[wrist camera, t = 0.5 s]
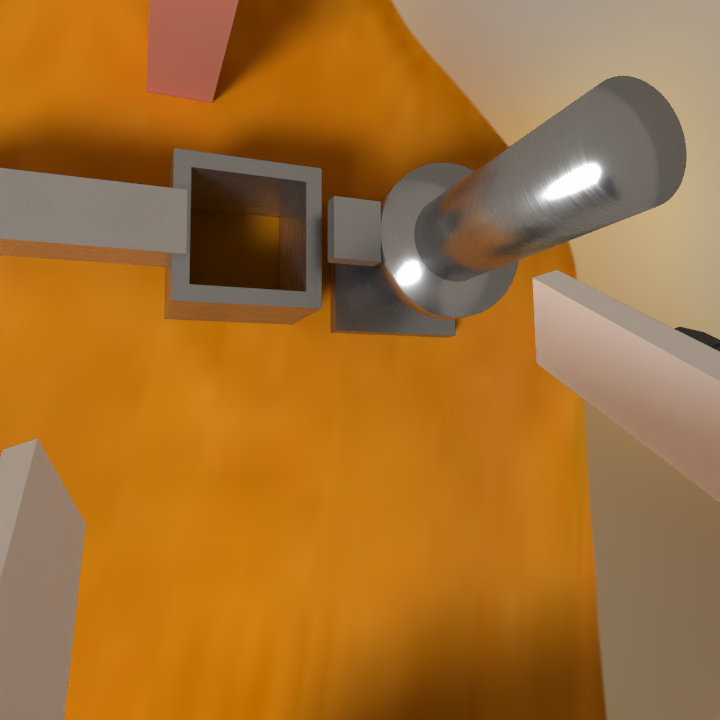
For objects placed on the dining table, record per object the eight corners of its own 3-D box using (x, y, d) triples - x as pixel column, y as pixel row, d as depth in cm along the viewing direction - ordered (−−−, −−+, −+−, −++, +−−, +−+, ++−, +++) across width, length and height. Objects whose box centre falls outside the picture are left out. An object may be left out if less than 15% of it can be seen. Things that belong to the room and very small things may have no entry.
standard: (447, 337, 39) (731, 272, 21) (292, 331, 36) (465, 245, 17) (445, 217, 40) (718, 49, 21) (292, 199, 36) (460, -23, 18)
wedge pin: (212, 102, 35) (241, -9, 26) (146, 91, 34) (151, -30, 25) (213, 43, 35) (241, -88, 26) (148, 30, 34) (153, -113, 25)
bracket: (292, 324, 36) (324, 306, 30) (-108, 306, 29) (-172, 279, 23) (292, 205, 36) (324, 165, 30) (-100, 160, 30) (-159, 96, 23)
